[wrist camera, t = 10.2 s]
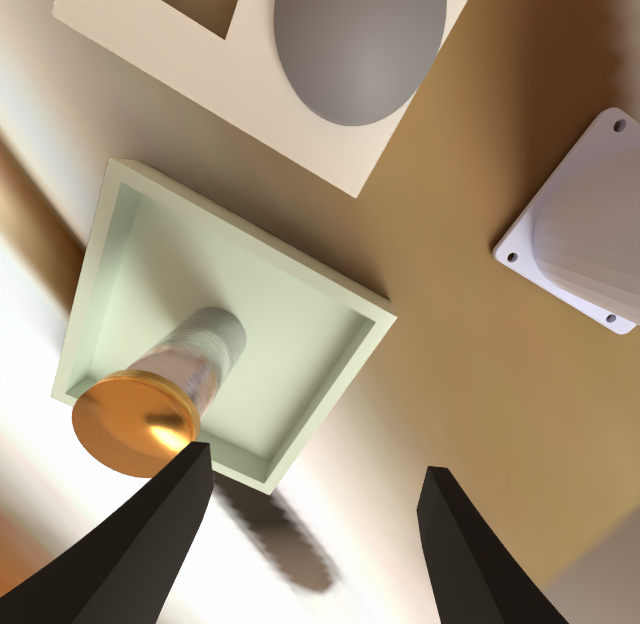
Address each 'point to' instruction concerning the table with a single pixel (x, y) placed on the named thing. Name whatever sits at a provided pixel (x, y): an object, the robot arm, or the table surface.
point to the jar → (160, 395)
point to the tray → (225, 293)
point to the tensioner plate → (287, 68)
